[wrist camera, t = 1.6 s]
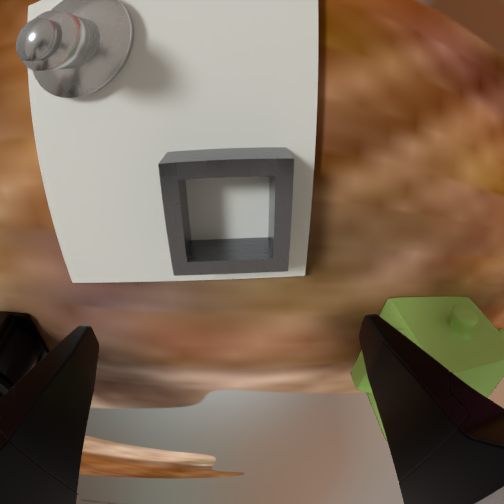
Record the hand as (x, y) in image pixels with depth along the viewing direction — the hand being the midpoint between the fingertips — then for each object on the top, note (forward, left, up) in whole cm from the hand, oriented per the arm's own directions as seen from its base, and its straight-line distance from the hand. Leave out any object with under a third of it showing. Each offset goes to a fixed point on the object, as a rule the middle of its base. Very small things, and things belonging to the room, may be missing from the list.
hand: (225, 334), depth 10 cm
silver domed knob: (+11, +8, -10) cm, 17 cm away
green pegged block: (-12, -18, -11) cm, 25 cm away
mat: (+5, +3, -11) cm, 12 cm away
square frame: (0, 0, -10) cm, 11 cm away
